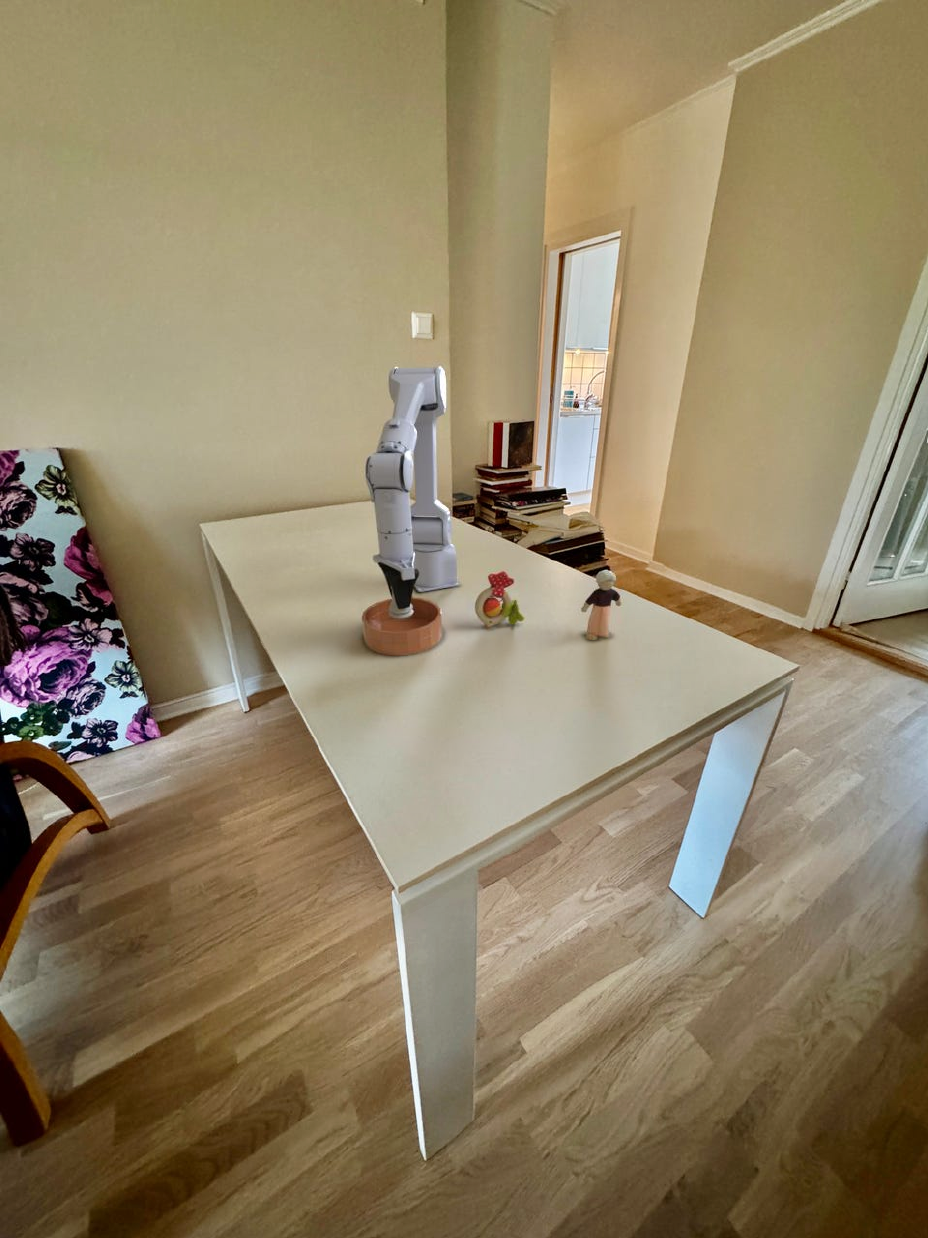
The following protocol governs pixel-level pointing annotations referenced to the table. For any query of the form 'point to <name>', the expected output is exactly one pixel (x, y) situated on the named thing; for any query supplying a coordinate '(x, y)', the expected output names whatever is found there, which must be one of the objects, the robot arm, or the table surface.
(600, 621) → the grandmother figurine
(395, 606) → the rook chess piece
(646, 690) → the table surface
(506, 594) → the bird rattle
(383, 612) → the pan
